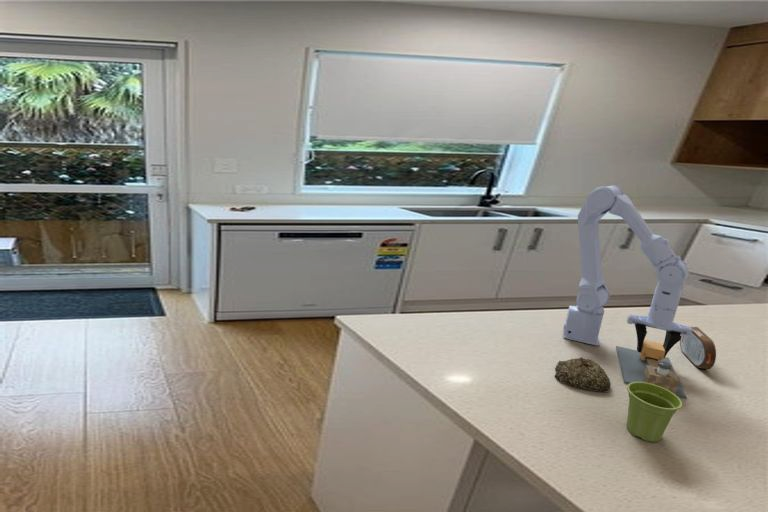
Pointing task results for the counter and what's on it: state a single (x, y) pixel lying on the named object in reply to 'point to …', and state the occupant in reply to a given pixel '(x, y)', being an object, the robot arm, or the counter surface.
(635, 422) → the plant pot
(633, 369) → the base mat
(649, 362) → the rail
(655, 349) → the tan block with tabs
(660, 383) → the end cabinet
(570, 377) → the brown rock
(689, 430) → the counter surface
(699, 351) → the tin
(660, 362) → the grey domed push button
